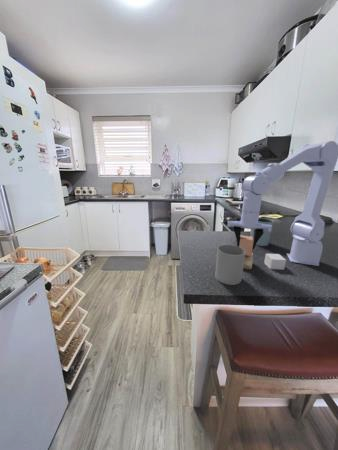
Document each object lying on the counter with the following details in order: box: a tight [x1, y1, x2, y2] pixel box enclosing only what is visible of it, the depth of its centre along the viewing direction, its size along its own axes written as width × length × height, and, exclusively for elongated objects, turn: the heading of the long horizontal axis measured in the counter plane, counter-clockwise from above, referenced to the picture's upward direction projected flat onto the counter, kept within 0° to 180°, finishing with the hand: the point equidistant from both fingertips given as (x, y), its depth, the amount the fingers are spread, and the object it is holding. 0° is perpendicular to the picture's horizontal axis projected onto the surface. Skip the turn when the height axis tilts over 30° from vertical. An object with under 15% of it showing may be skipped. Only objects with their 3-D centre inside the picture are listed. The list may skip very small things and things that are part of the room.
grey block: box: [263, 253, 287, 271], centre depth 71 cm, size 5×5×4 cm
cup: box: [214, 244, 246, 286], centre depth 61 cm, size 8×8×10 cm
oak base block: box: [243, 253, 254, 270], centre depth 72 cm, size 6×6×4 cm
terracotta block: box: [239, 234, 254, 256], centre depth 71 cm, size 4×4×6 cm
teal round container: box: [249, 217, 275, 247], centre depth 94 cm, size 10×10×12 cm
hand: (245, 247), depth 70 cm, fingers closed on terracotta block, 4 cm apart
